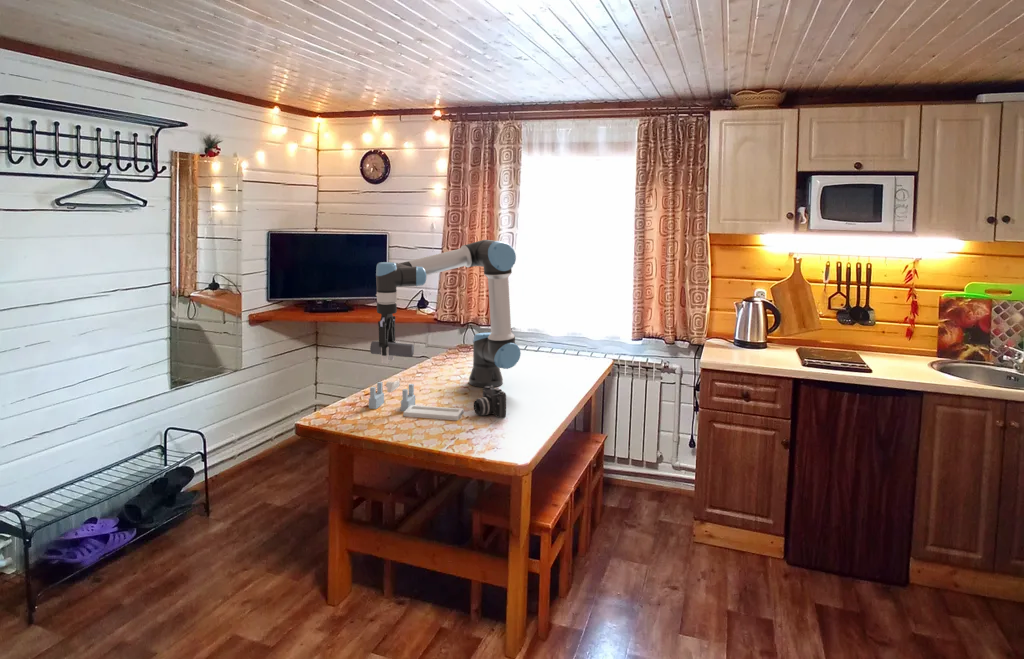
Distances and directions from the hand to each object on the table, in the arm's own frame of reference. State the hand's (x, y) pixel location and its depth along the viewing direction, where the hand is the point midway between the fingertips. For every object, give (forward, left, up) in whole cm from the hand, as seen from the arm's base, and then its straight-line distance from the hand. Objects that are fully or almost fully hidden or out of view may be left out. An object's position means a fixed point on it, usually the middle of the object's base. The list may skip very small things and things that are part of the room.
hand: (387, 361), depth 272 cm
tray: (-20, +6, -18) cm, 28 cm away
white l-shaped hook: (-5, +7, -9) cm, 13 cm away
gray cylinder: (-2, 0, +3) cm, 3 cm away
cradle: (-2, 0, -18) cm, 18 cm away
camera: (-40, 0, -18) cm, 44 cm away
